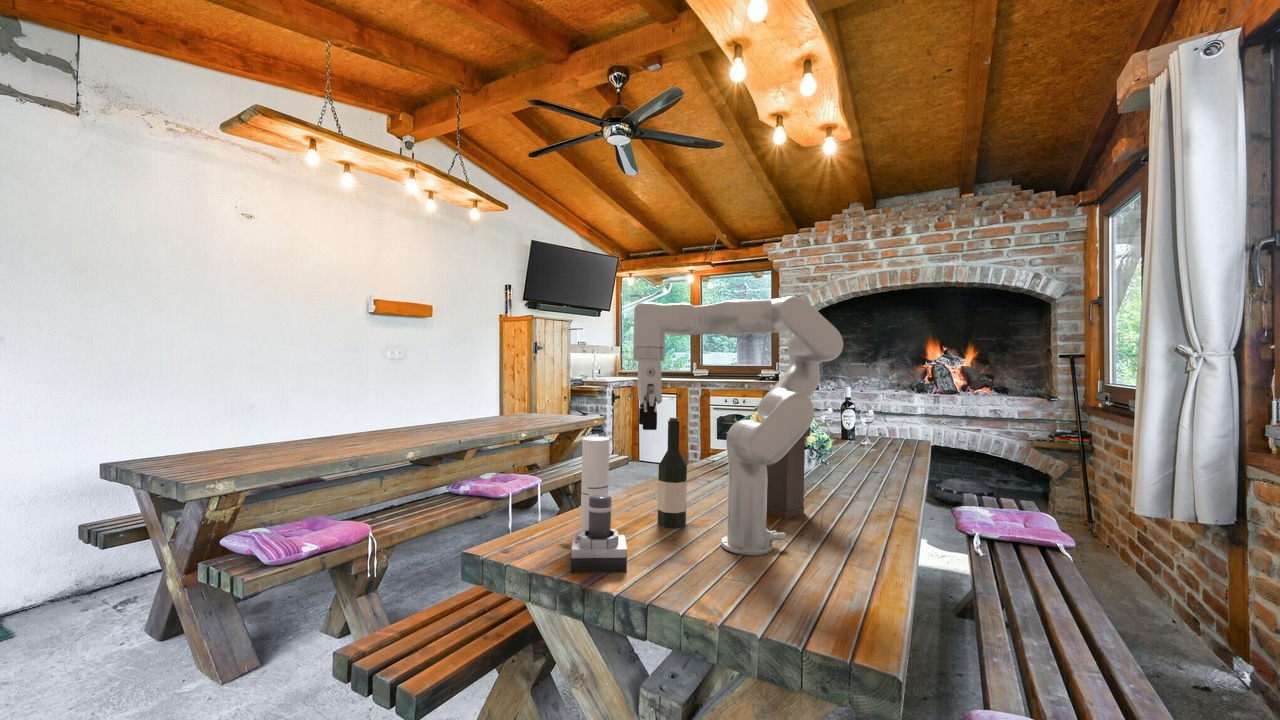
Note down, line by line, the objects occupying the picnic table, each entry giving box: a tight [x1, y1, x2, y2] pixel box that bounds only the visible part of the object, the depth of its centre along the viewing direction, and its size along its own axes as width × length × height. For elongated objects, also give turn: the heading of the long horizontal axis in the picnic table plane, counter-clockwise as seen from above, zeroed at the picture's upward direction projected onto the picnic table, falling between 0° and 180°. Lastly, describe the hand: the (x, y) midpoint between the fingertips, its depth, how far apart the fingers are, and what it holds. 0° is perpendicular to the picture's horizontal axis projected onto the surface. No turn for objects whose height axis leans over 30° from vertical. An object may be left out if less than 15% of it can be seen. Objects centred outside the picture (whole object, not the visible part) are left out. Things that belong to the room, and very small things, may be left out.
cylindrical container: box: [580, 436, 610, 532], centre depth 141 cm, size 7×7×25 cm
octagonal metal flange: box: [570, 528, 628, 573], centre depth 119 cm, size 12×9×7 cm
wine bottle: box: [657, 416, 688, 529], centre depth 150 cm, size 8×8×30 cm
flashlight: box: [588, 495, 613, 538], centre depth 119 cm, size 5×5×10 cm
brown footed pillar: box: [766, 398, 812, 520], centre depth 168 cm, size 19×14×35 cm
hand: (647, 426), depth 126 cm, fingers open, 9 cm apart
